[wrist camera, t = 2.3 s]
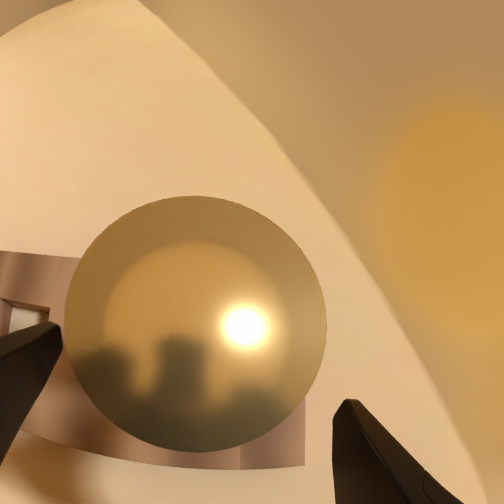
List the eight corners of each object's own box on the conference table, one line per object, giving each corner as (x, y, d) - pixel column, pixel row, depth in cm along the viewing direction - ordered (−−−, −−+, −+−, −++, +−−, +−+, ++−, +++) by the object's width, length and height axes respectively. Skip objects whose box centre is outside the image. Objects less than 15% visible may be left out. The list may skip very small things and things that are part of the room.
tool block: (292, 284, 20) (301, 273, 19) (294, 458, 15) (304, 465, 13) (-4, 259, 17) (-16, 248, 16) (-24, 401, 12) (-39, 400, 10)
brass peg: (211, 405, 16) (229, 500, 2) (168, 374, 17) (23, 327, 3) (240, 364, 18) (365, 283, 4) (198, 335, 18) (175, 160, 4)
